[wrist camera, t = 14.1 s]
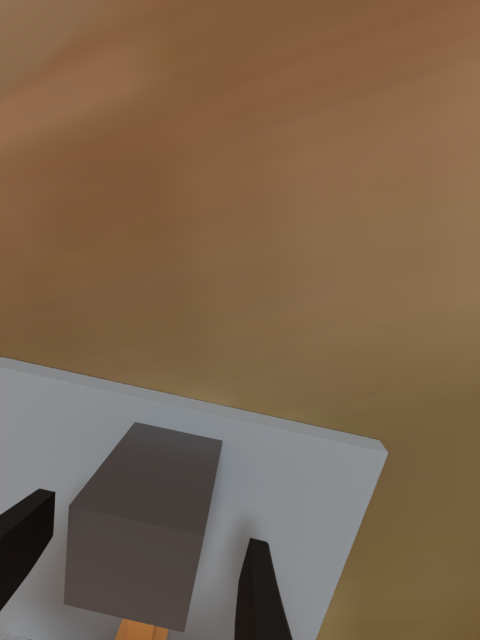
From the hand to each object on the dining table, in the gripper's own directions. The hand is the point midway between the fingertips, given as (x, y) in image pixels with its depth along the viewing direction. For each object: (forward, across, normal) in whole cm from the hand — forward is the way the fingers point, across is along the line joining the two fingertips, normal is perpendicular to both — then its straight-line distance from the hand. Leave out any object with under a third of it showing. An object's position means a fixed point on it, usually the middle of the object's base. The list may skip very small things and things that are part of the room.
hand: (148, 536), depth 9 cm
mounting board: (+4, 0, +16) cm, 16 cm away
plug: (+3, 0, +4) cm, 5 cm away
